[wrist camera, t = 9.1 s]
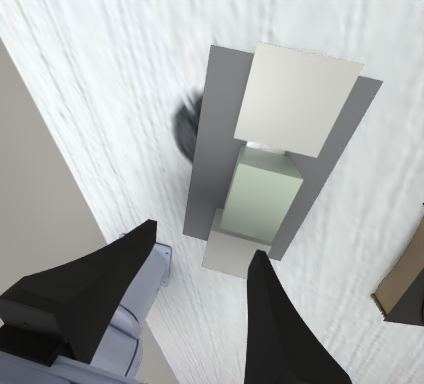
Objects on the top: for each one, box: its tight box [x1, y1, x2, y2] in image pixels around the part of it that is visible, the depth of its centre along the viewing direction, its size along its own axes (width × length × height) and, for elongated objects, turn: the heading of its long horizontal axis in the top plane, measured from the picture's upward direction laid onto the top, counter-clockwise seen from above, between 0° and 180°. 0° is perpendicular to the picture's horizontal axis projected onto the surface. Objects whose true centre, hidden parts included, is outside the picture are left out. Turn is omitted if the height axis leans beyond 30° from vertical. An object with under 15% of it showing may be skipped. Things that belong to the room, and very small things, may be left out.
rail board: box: [183, 45, 383, 261], centre depth 19 cm, size 20×13×1 cm, turn 169°
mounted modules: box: [201, 42, 364, 279], centre depth 17 cm, size 20×6×4 cm, turn 169°
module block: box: [220, 145, 303, 242], centre depth 16 cm, size 6×4×5 cm
